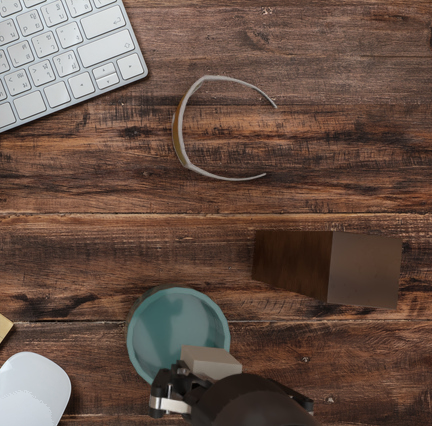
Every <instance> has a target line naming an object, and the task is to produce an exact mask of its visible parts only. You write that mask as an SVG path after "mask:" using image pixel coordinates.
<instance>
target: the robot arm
mask: <svg viewBox="0 0 432 426" xmlns="http://www.w3.org/2000/svg"><path fill="white" fill-rule="evenodd" d="M314 405H315V400H314V399H312V398H310V397H308V396H306V395H305V394H302V393H300V392H299V391H297V390H294V389H293V388H291V387H289V386H287V385H286V384H283V383H281V382H280V381H277V380H275V379H273V378H271V377H264V376H262V375H258V374H255V373H250V372H249V373H247V372H243V371H242V373H239V374H233V375H230V376H227V377H224V378H222V379H220V380H215V379H213V378H211V377H210V376H208V375H206V374H205V373H203V372H192V371H190V369H189V367H188V366H187V364H186V363H185V362H184V360H177V361H176V364H172V365H171V370H169V369H168V368H163V369H159V371H158V373H157V375H156V377H155V379H154V380H153V382H152V384H151V385H150V393H149V403H148V411H147V412H148V413H147V415H148V417H150V418H152V419H155V420H161V419H163V418H164V415H171V412H173V413H178V414H180V415H181V417H182V419H183V420H184V421H185V422H186V423H187V424H189V425H190V426H324V425H323V424H322V423H321V421H319V420H318V418H316V417H315V416H314V407H315V406H314Z"/></svg>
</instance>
